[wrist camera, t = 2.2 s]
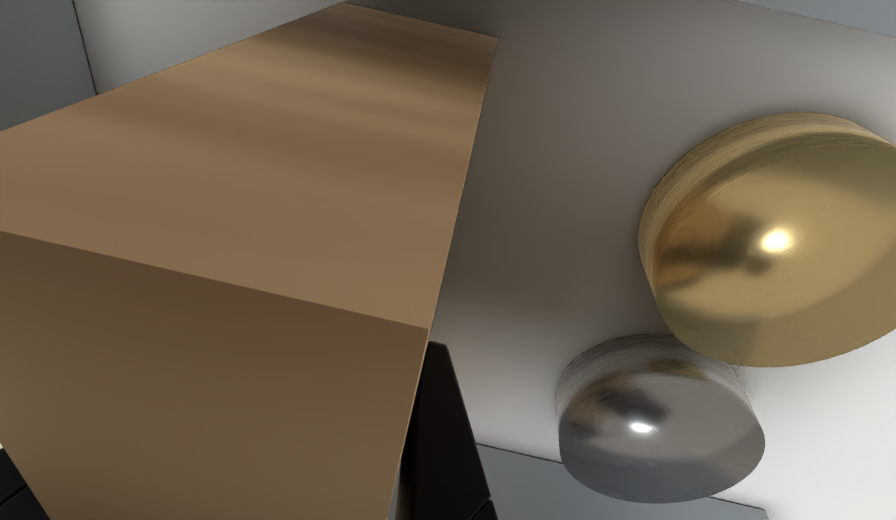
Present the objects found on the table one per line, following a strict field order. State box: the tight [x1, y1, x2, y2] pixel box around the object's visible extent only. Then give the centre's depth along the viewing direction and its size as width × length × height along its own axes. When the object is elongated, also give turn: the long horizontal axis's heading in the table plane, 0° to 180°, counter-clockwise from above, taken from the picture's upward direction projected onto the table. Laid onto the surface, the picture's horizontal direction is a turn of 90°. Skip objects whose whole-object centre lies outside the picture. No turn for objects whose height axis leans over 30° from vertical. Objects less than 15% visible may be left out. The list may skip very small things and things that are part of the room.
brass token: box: [638, 112, 896, 367], centre depth 10 cm, size 5×5×2 cm
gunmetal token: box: [556, 334, 765, 504], centre depth 13 cm, size 5×5×2 cm
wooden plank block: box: [0, 2, 498, 520], centre depth 9 cm, size 11×3×8 cm, turn 170°
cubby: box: [0, 0, 896, 520], centre depth 11 cm, size 16×22×4 cm
